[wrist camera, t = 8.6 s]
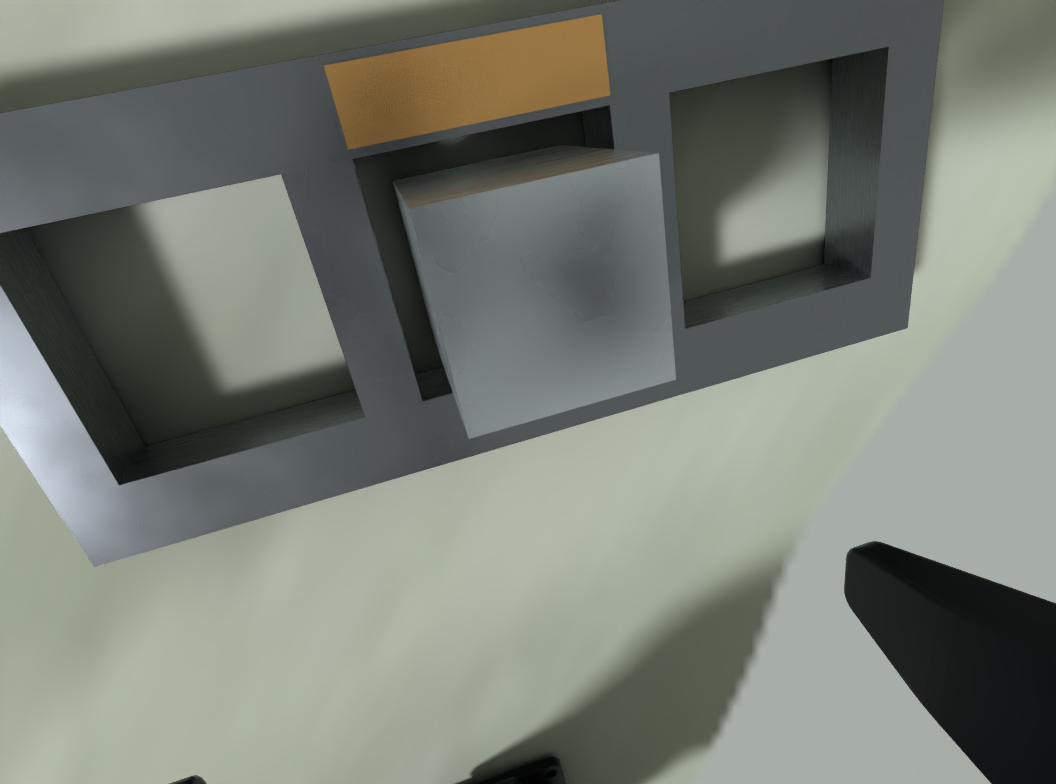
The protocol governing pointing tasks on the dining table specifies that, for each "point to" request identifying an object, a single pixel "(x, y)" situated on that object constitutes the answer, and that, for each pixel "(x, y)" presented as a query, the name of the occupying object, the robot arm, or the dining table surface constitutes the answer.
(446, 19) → the dining table surface
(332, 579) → the dining table surface
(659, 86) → the grey slotted frame
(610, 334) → the steel block
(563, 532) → the dining table surface
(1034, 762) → the robot arm
